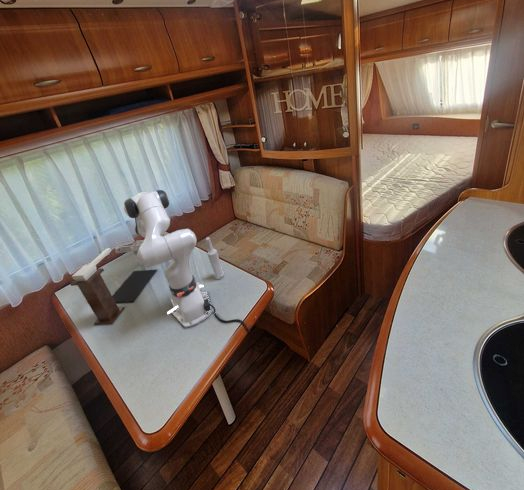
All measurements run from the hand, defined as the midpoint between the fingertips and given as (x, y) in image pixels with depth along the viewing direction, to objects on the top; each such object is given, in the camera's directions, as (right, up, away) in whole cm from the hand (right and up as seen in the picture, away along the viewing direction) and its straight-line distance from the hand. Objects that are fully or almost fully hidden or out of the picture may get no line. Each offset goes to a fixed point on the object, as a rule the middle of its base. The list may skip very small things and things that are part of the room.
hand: (123, 249), depth 152 cm
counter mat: (+3, -22, +5) cm, 23 cm away
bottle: (+54, -15, -2) cm, 56 cm away
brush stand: (0, -31, -15) cm, 35 cm away
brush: (-3, -5, -19) cm, 20 cm away
